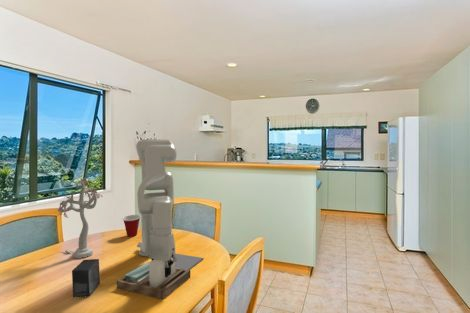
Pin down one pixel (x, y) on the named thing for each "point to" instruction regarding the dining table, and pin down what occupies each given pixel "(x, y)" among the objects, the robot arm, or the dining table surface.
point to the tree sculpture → (83, 249)
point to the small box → (85, 278)
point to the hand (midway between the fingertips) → (163, 274)
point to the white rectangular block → (159, 272)
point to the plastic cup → (131, 224)
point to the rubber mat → (187, 261)
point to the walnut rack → (162, 289)
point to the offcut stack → (138, 274)
